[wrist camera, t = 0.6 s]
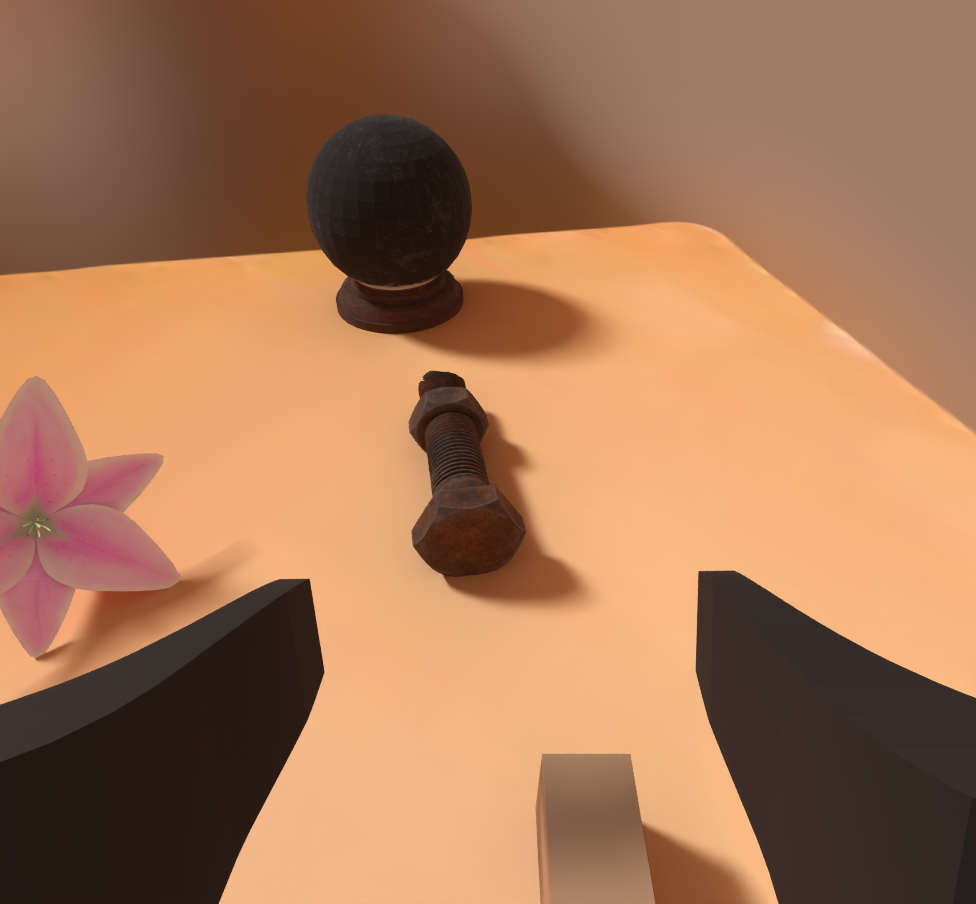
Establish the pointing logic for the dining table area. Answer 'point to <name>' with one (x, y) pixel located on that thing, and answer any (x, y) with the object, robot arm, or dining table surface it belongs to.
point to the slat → (590, 831)
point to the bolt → (459, 484)
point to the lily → (66, 519)
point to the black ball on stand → (391, 222)
